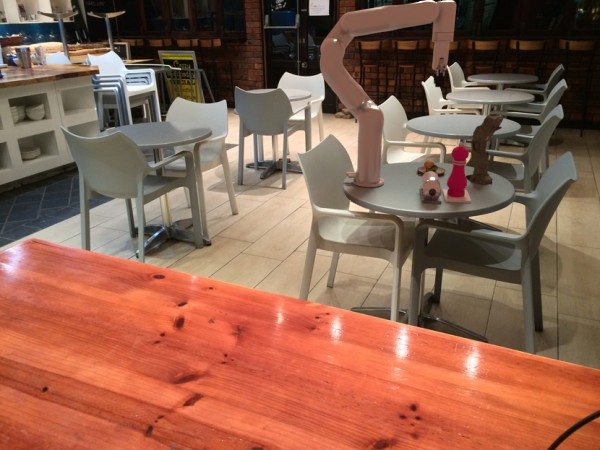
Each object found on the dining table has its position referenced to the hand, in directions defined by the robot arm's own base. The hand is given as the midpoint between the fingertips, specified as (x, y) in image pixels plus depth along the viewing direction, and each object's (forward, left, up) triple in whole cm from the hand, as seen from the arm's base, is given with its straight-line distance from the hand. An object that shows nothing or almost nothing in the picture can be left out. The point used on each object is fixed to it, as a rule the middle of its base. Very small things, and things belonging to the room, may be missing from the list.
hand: (438, 85), depth 188 cm
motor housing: (-1, -19, -38) cm, 43 cm away
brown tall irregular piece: (+20, +2, -38) cm, 43 cm away
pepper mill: (+8, -19, -38) cm, 43 cm away
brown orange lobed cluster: (+1, +11, -39) cm, 40 cm away
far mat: (+8, -19, -38) cm, 43 cm away
